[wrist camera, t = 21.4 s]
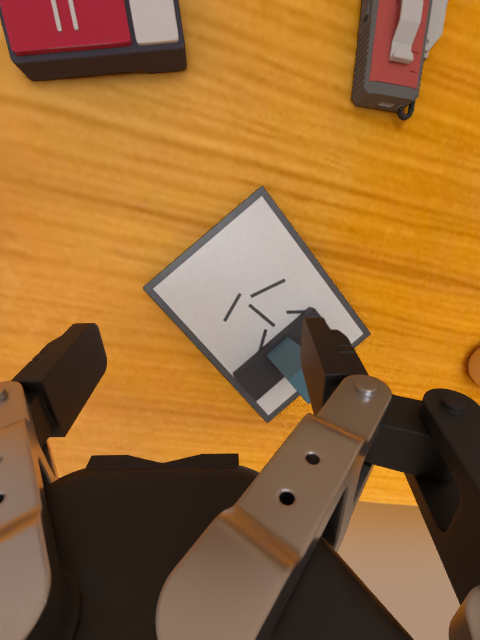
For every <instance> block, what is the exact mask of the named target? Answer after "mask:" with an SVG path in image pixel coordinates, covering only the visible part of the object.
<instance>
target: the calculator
mask: <svg viewBox="0 0 480 640" xmlns="http://www.w3.org/2000/svg"><path fill="white" fill-rule="evenodd" d="M0 18H1V22H2V26H3V30H4V34H5V38H6V42H7V46H8V50H9V54H10V58H11V60H12V61H13V63H14V64H15V65H16V66H17V67H18V68H19V69H20V70H21V71H22V72H23V73H24V74H25V75H26V76H27V77H28V78H29V79H30V80H32V81H37V80H47V79H58V78H68V77H79V76H90V75H100V74H111V73H121V72H132V71H142V72H147V73H159V72H170V71H180V70H185V69H186V66H187V63H186V52H185V42H184V35H183V28H182V22H181V15H180V9H179V2H178V0H0Z"/></svg>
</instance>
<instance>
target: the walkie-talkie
mask: <svg viewBox="0 0 480 640" xmlns="http://www.w3.org/2000/svg"><path fill="white" fill-rule="evenodd" d="M447 2H448V0H362V8H361V17H360V26H359V34H358V38H359V40H358V47H357V53H356V55H357V57H356V64H355V70H354V72H355V75H354V81H353V83H354V84H353V91H352V97H351V98H352V100H353V102H354V103H355V105H356V106H363V107H369V108H375V109H381V110H387V111H393V112H397V114H398V118H399V119H401V120H407V119H408V118H410V117H411V116H412V113H413V111H414V106H415V99H416V98H417V97H418V96H419V95H418V93H419V86H420V80H421V74H422V69H423V63H424V61H425V60H426V59H427V58H428V53H429V50H430V48H431V47H432V46H433V45H434V44H435V42H436V41H437V40H438V39H439V38H440V36H441V35H442V32H443V26H444V20H445V13H446V7H447ZM408 105H409V107H408V113H407V115H406V114H404V112H403V108H405V107H406V106H408Z"/></svg>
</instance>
